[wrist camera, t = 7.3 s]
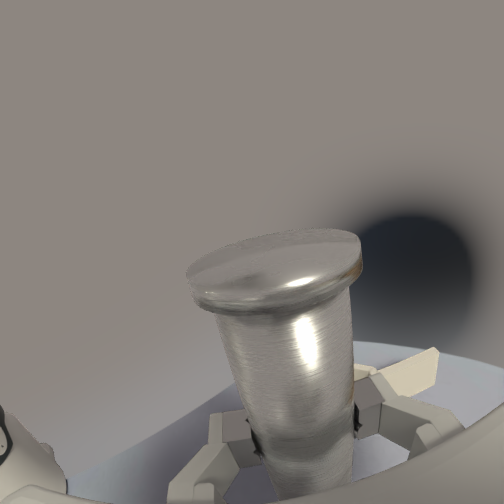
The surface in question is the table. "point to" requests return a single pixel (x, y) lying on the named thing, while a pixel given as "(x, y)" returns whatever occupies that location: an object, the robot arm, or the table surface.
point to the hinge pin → (289, 348)
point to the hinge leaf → (406, 373)
